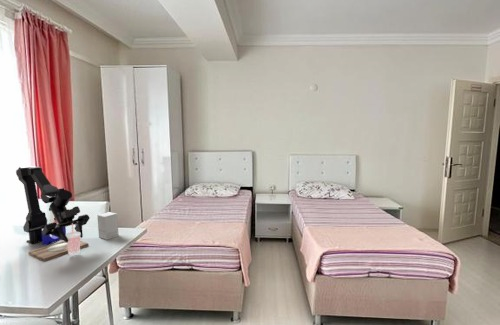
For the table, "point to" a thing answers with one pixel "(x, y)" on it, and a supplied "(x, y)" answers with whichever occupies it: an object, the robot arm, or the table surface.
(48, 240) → the cable clip
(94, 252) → the table surface
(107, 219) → the supplement box
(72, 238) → the beverage cup
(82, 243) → the board
